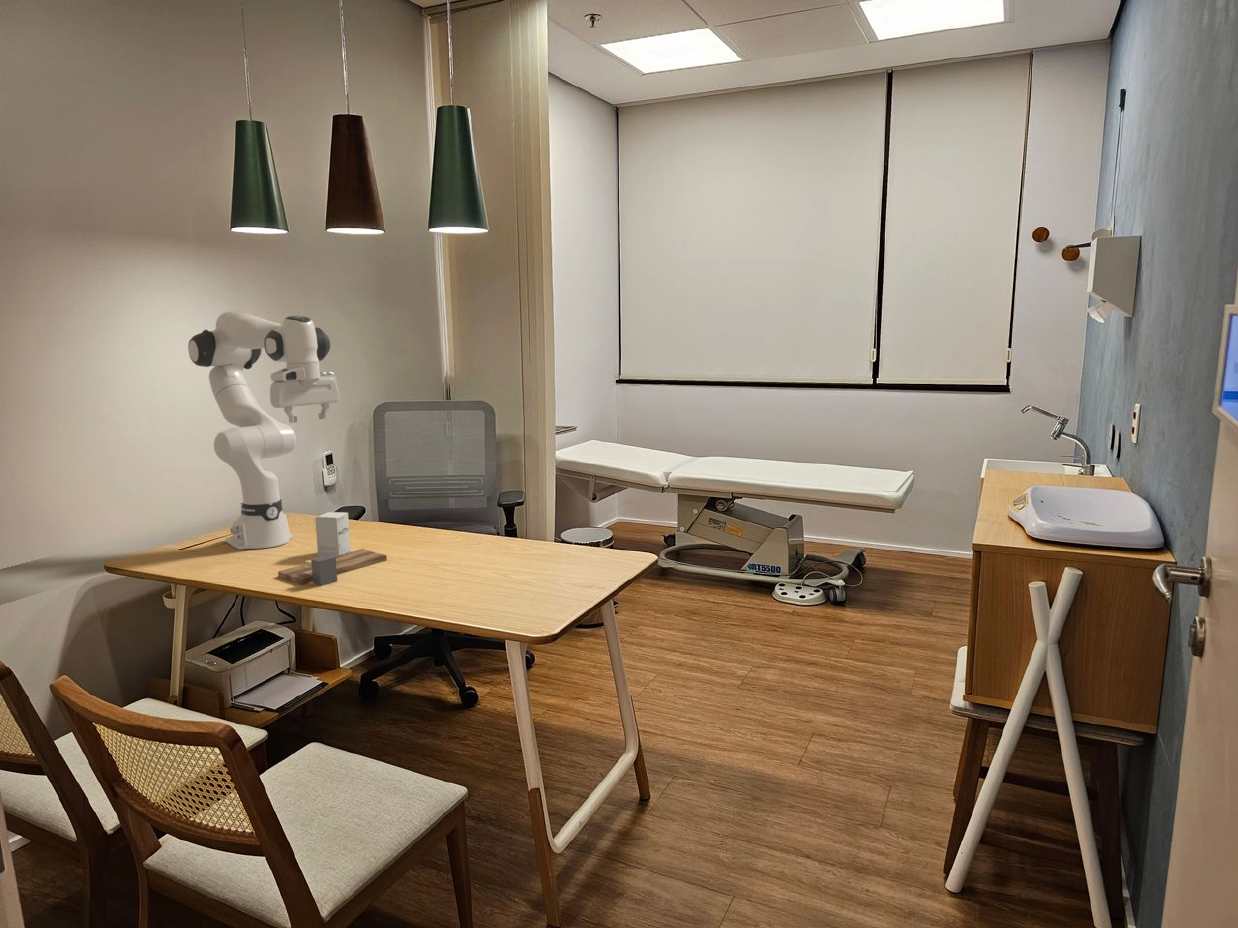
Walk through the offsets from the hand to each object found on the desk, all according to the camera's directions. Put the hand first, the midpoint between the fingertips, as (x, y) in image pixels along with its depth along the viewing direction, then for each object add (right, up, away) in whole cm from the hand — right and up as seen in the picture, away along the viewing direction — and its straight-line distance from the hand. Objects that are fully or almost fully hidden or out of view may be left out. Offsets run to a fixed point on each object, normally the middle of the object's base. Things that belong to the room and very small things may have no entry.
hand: (308, 420), depth 235 cm
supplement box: (+2, -41, +17) cm, 44 cm away
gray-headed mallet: (+7, -45, -9) cm, 47 cm away
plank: (+7, -43, +2) cm, 44 cm away
